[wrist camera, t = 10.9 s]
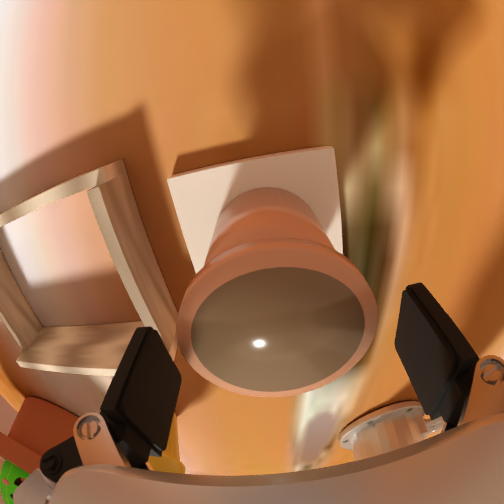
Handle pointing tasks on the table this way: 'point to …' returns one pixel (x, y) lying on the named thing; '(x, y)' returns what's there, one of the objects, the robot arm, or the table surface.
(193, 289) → the terracotta pot
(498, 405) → the robot arm
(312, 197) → the stone tile
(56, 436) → the potted cactus
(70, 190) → the frame
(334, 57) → the table surface
